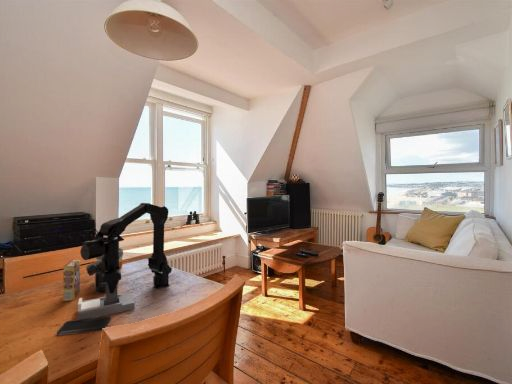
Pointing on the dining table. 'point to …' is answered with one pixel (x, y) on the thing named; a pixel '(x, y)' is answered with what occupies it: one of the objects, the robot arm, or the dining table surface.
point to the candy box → (71, 280)
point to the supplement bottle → (99, 283)
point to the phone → (84, 325)
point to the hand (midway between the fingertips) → (111, 291)
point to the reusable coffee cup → (119, 258)
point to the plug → (111, 294)
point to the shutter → (88, 304)
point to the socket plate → (108, 306)
